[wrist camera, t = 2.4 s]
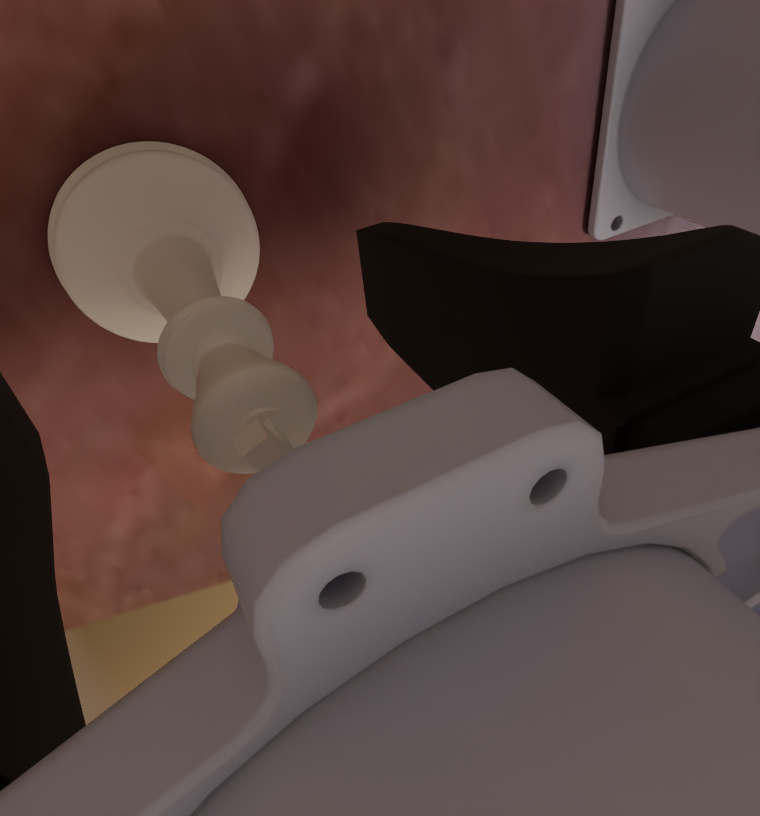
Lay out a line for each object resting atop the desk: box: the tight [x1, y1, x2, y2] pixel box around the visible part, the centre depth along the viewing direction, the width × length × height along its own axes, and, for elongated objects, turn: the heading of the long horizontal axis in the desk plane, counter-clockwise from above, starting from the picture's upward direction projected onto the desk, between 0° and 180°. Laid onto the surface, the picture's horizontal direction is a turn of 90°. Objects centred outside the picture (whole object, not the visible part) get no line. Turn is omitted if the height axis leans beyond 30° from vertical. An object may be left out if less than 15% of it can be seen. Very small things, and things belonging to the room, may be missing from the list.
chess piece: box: [48, 141, 317, 474], centre depth 12 cm, size 5×5×10 cm
